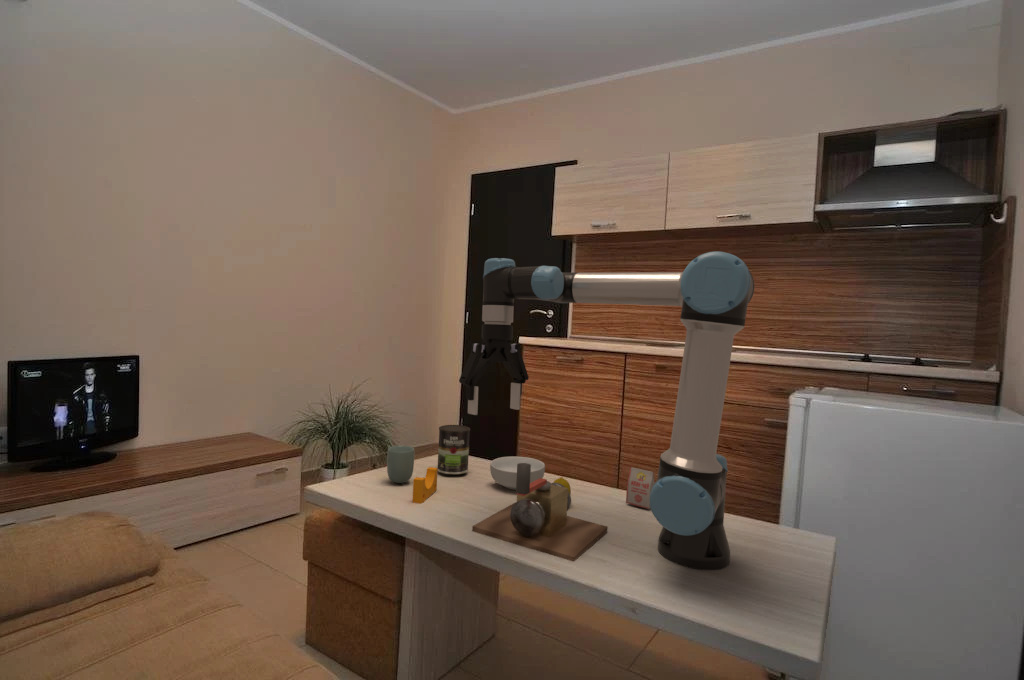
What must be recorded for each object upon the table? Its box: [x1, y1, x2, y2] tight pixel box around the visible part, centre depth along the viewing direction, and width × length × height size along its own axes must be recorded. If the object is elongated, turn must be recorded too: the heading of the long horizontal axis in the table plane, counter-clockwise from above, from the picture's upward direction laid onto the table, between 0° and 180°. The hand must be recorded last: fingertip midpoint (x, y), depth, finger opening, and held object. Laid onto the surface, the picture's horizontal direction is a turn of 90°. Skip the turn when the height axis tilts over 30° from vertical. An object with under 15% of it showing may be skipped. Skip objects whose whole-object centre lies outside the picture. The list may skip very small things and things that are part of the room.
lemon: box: [552, 476, 572, 496], centre depth 139 cm, size 6×6×8 cm
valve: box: [510, 482, 572, 538], centre depth 121 cm, size 9×16×9 cm, turn 149°
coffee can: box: [436, 424, 471, 475], centre depth 167 cm, size 10×10×14 cm
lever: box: [515, 463, 552, 496], centre depth 116 cm, size 13×4×8 cm, turn 149°
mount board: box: [471, 501, 609, 562], centre depth 121 cm, size 26×20×2 cm
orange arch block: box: [412, 466, 438, 504], centre depth 142 cm, size 12×4×6 cm, turn 169°
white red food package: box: [625, 466, 656, 510], centre depth 144 cm, size 4×7×10 cm, turn 54°
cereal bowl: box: [489, 455, 546, 491], centre depth 154 cm, size 17×17×7 cm
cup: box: [386, 444, 415, 484], centre depth 153 cm, size 8×8×10 cm
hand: (494, 411), depth 122 cm, fingers open, 13 cm apart
